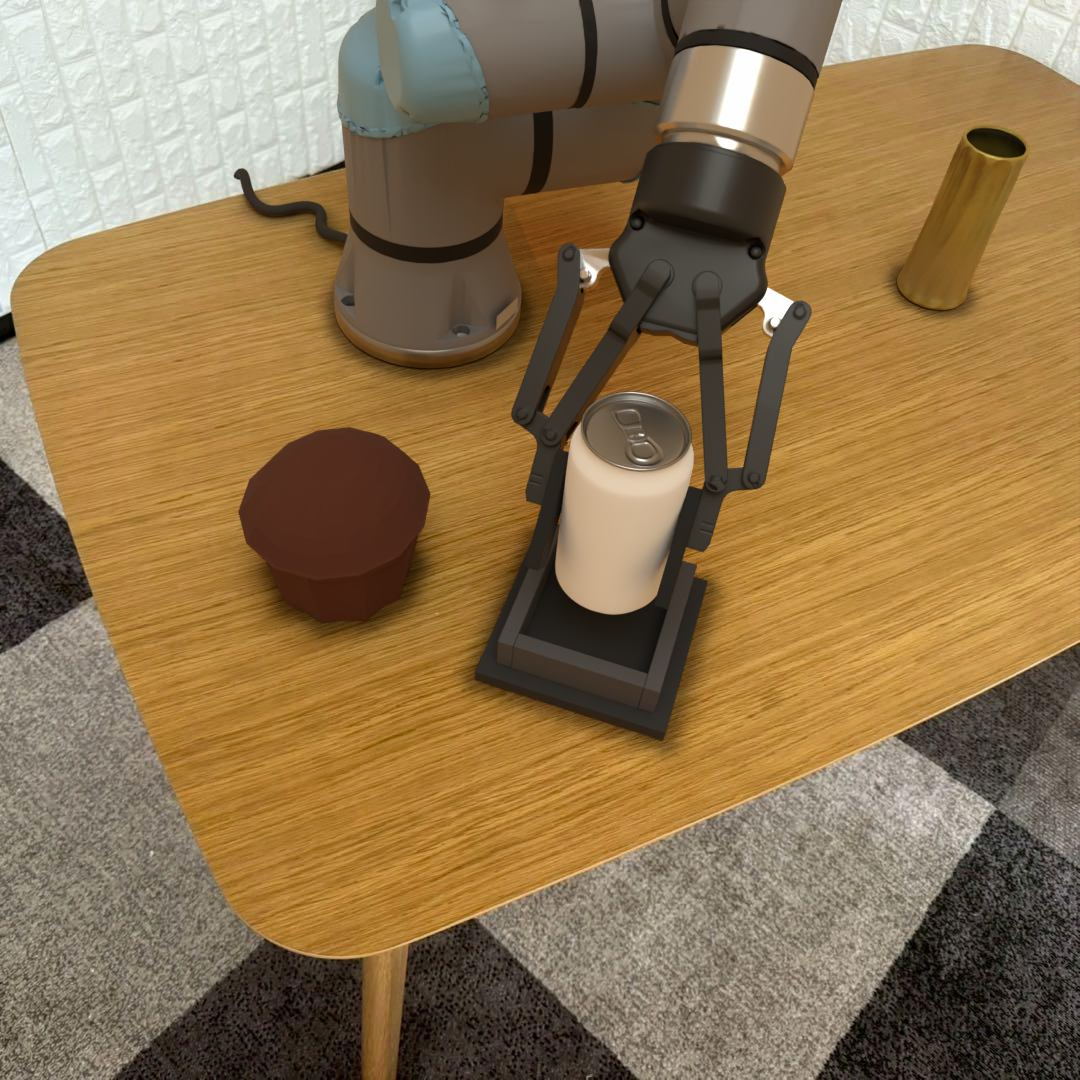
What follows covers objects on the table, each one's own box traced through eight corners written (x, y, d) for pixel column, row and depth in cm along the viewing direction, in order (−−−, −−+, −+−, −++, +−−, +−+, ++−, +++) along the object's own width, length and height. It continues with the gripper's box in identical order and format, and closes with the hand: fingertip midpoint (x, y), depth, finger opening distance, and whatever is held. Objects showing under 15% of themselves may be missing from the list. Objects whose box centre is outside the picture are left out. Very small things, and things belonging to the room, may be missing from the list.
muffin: (360, 671, 62) (348, 574, 54) (218, 593, 65) (186, 490, 57) (463, 543, 69) (465, 440, 61) (330, 477, 72) (316, 371, 64)
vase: (883, 273, 92) (943, 124, 81) (941, 264, 93) (1008, 117, 82) (918, 315, 88) (985, 166, 77) (977, 306, 90) (1052, 158, 79)
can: (571, 628, 58) (594, 485, 48) (541, 541, 61) (556, 394, 52) (678, 607, 59) (720, 465, 50) (642, 524, 63) (674, 377, 54)
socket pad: (474, 680, 62) (475, 649, 60) (535, 538, 70) (539, 505, 67) (662, 741, 61) (673, 712, 58) (705, 589, 68) (716, 557, 65)
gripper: (893, 223, 55) (770, 627, 58) (552, 144, 58) (448, 531, 60) (920, 185, 48) (777, 649, 50) (528, 96, 51) (411, 539, 53)
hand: (598, 584), depth 55 cm, fingers closed on can, 6 cm apart
